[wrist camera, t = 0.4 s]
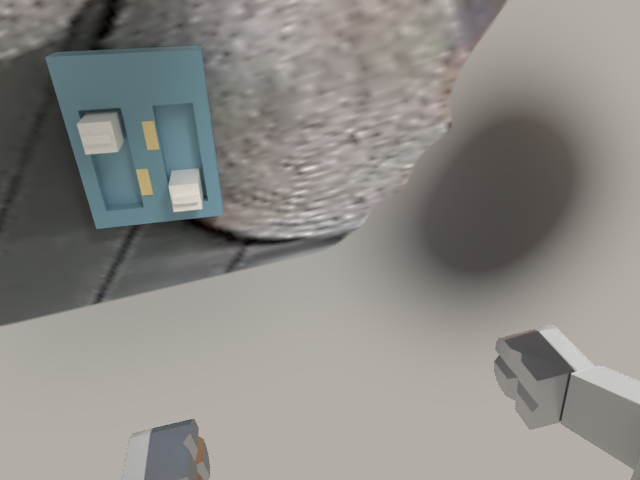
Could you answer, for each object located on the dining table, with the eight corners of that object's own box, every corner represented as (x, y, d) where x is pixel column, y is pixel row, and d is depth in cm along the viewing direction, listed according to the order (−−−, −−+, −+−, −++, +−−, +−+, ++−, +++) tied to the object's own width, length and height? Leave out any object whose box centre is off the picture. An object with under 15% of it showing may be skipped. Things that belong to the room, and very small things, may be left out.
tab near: (87, 111, 47) (75, 125, 42) (118, 109, 47) (109, 122, 43) (95, 140, 48) (84, 156, 44) (125, 138, 49) (117, 154, 44)
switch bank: (56, 51, 45) (44, 57, 42) (201, 45, 48) (200, 49, 45) (102, 215, 54) (96, 229, 51) (223, 202, 57) (223, 215, 54)
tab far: (171, 170, 51) (167, 188, 47) (199, 168, 52) (198, 185, 47) (176, 195, 53) (173, 214, 48) (203, 192, 53) (202, 211, 49)
